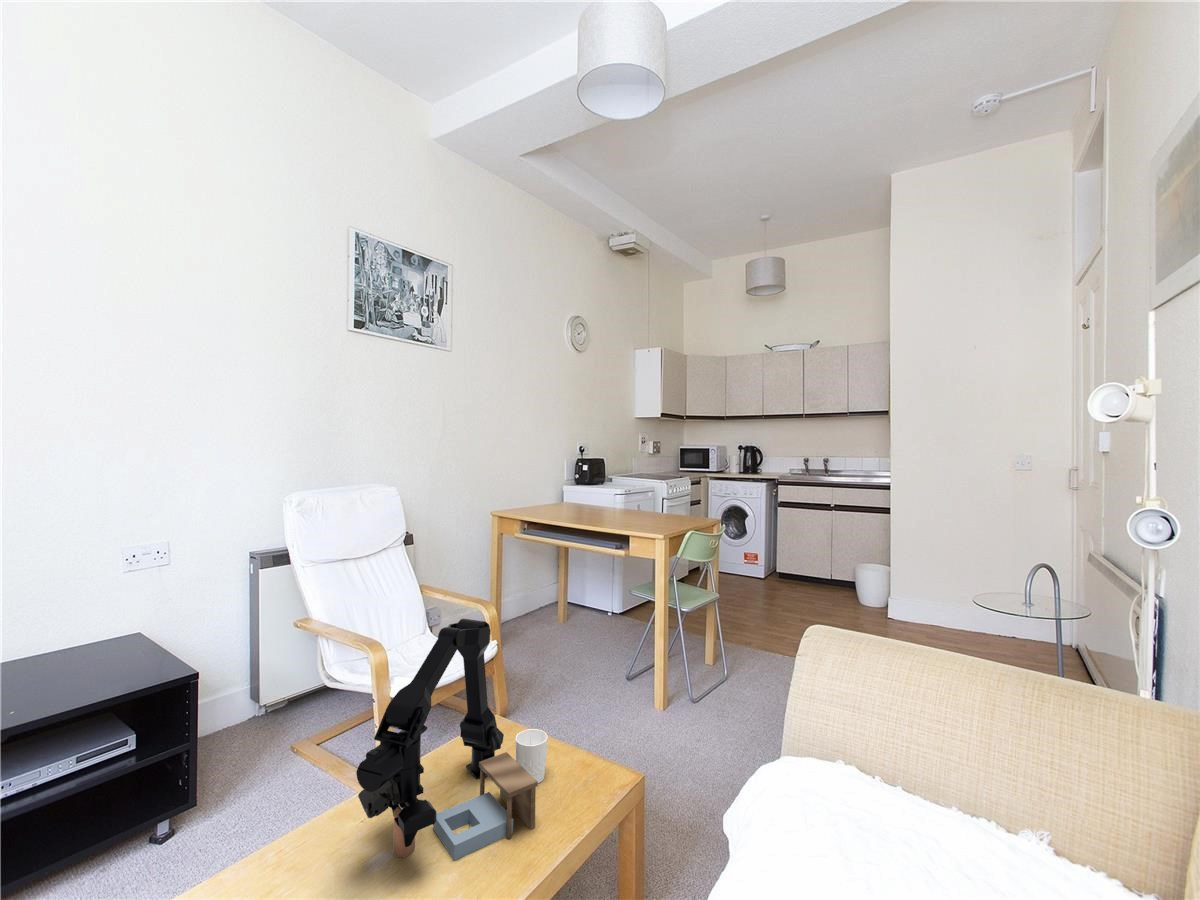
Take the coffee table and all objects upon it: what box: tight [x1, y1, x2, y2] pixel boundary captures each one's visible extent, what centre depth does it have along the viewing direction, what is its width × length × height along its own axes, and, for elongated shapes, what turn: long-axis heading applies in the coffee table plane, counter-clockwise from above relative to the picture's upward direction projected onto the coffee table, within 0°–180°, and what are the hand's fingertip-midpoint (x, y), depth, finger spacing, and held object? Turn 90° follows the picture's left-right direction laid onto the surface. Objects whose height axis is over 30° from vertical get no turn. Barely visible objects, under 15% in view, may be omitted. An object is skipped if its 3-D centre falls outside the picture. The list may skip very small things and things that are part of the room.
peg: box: [392, 806, 416, 858], centre depth 109 cm, size 4×4×8 cm
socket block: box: [433, 791, 514, 861], centre depth 115 cm, size 11×13×3 cm
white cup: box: [514, 728, 548, 784], centre depth 135 cm, size 8×8×10 cm
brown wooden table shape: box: [479, 751, 539, 840], centre depth 120 cm, size 14×7×10 cm, turn 38°
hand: (404, 839), depth 109 cm, fingers closed on peg, 4 cm apart
